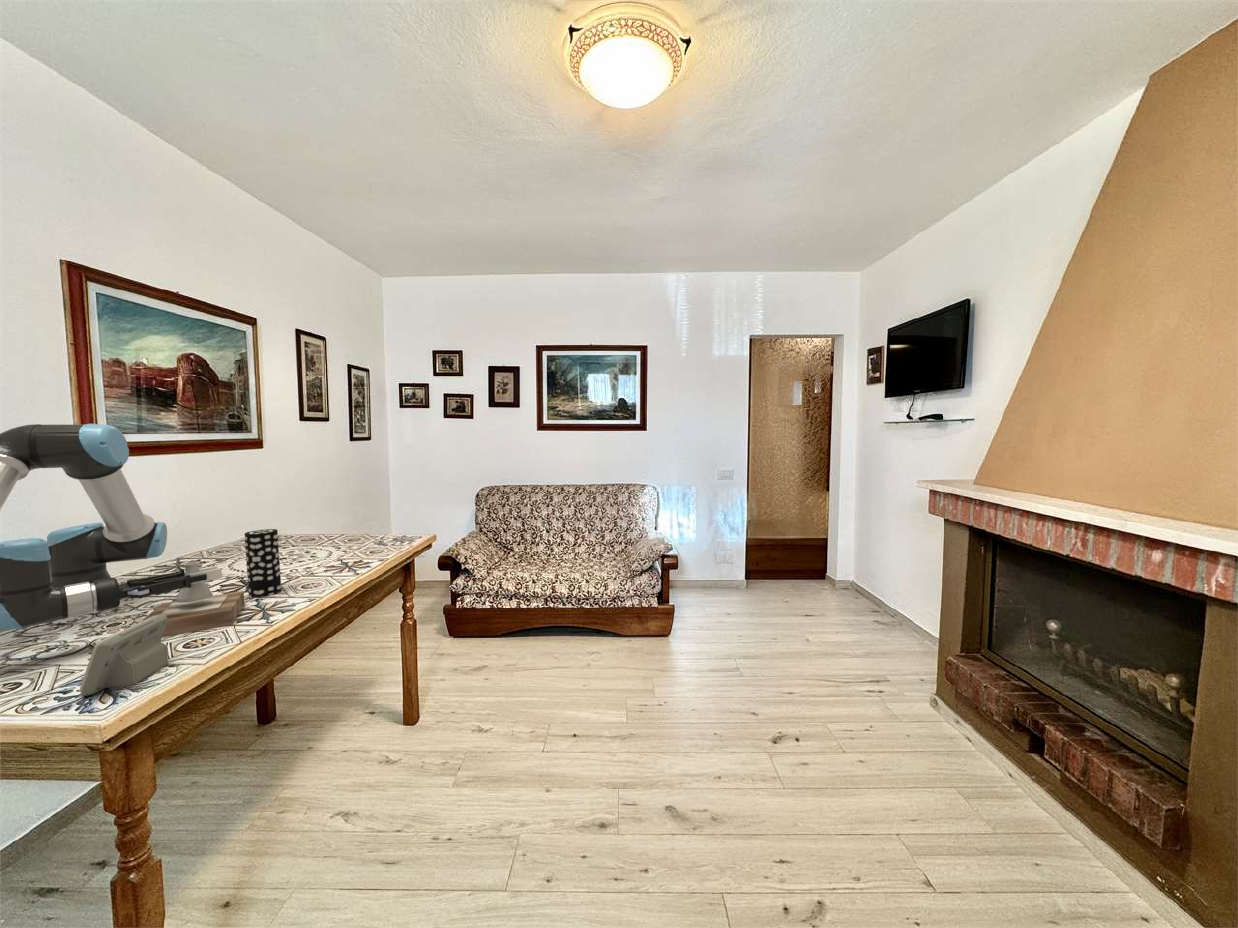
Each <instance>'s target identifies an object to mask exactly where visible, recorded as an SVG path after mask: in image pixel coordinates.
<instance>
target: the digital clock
mask: <svg viewBox="0 0 1238 928" xmlns="http://www.w3.org/2000/svg"><path fill="white" fill-rule="evenodd" d="M143 620H144V619H143ZM167 620H168V619H167V616H166V615H164V614H160V615H156V616H153V617H151V618H148V619H146V620H144V621H142V620H141V621H142V622H141V621H140V622H138V623H136V624H134V625H131V626H130V627H127V628H125V629H123V630H120V631H118V632H117V633H115V634H112V635H110V636H107V637H106V638H104V639H101V640H100V641H98V642H96V644H95V645H94V647H93V650H92V652H91V655H90V658H89V661H88V663H87V667H86V670H85V673H84V674H83V675H84V676H83V678H82V681H81V684H80V687H79V692H80V694H81V696H90V695H94V694H96V693H99V692H100V691H103V690H104V689H107V688H108V689H109V688H117V687H118V688H120V687H129V686H134V685H136V684H137V683H140V682H141V681H143V680H144V679H146V678H148V677H149V676H151V675H153V674H154V673H156V672H157V671H159V670H160V669H162V668H164V667H165V666H166V665H168V664H169V659H168V647H167V645H166V644H165V643H164V642H162V638H163V637H162V635H163V632H164V629H165V627H166V624H167Z"/></svg>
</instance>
